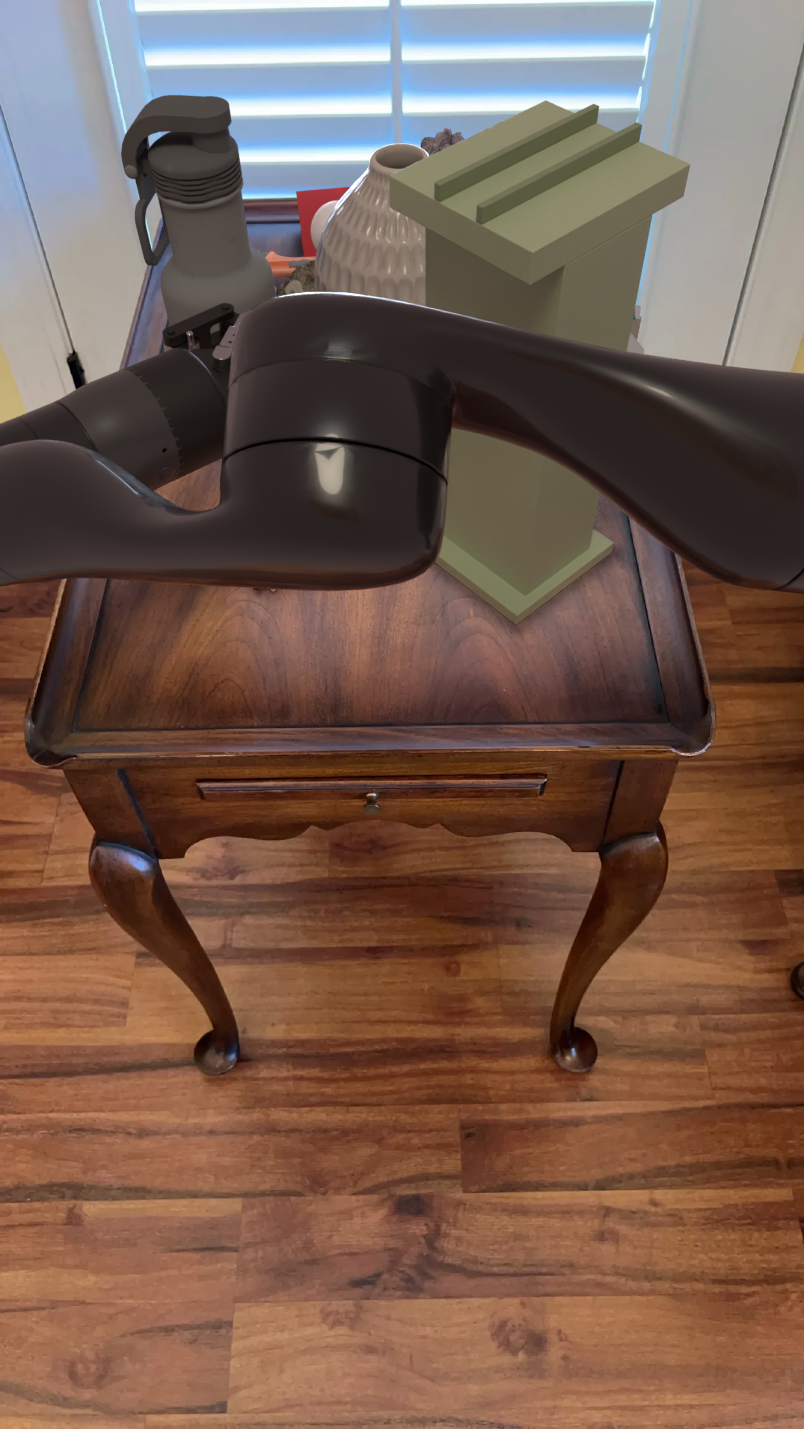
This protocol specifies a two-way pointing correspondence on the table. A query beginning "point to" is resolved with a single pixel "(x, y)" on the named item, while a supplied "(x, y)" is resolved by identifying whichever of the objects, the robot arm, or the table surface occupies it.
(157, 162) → the water bottle
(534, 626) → the table surface
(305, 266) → the rock
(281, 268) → the utility knife
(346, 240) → the vase
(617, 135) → the green railed pedestal
